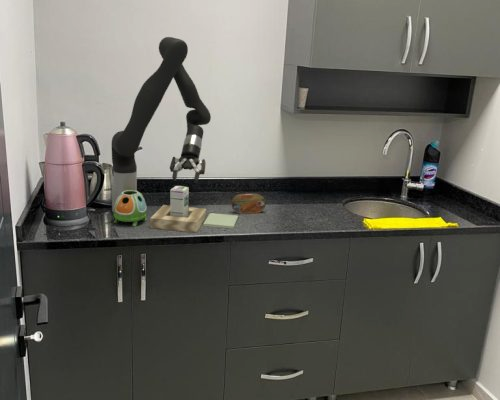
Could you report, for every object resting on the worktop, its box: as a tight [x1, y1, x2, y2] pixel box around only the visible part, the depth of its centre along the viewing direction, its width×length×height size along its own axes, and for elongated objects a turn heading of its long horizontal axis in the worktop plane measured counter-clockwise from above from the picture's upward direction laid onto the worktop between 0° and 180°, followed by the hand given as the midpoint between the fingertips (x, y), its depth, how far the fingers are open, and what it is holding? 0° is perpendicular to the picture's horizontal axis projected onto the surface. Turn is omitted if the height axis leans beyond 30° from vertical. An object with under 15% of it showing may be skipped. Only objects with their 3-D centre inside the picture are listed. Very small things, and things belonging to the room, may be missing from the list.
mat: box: [202, 212, 239, 230], centre depth 204 cm, size 12×14×1 cm
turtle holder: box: [113, 190, 148, 227], centre depth 199 cm, size 12×18×12 cm
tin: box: [230, 193, 267, 215], centre depth 217 cm, size 15×3×8 cm, turn 105°
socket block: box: [149, 204, 207, 233], centre depth 199 cm, size 18×18×4 cm
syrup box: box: [169, 185, 190, 218], centre depth 198 cm, size 6×6×14 cm
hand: (184, 180), depth 203 cm, fingers open, 8 cm apart
